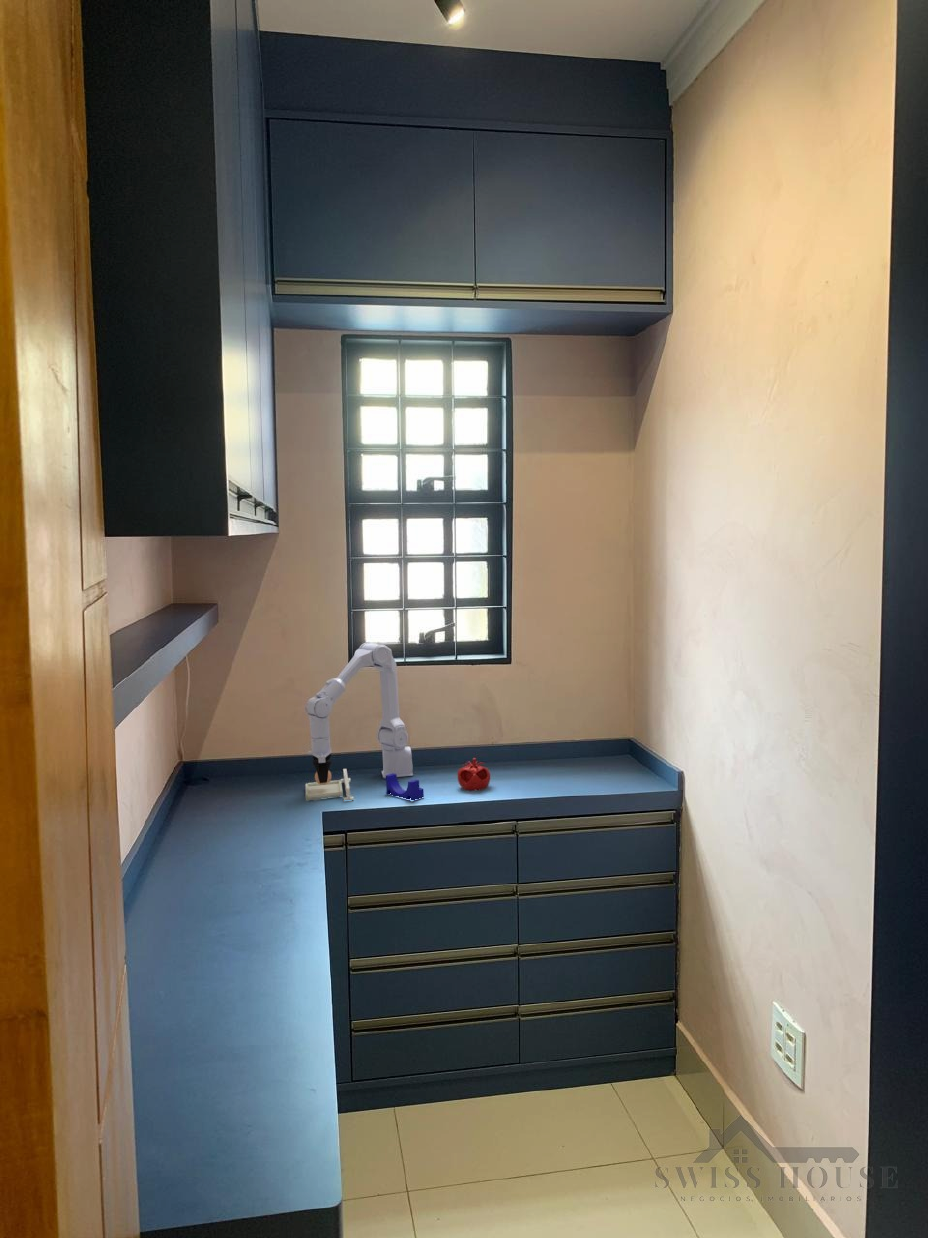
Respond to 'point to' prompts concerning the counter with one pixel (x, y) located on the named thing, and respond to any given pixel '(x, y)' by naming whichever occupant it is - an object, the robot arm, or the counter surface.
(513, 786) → the counter surface
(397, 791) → the cable clip
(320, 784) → the ball
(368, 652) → the robot arm
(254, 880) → the counter surface
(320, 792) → the resting dish
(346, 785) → the low wall
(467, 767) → the red carved pumpkin
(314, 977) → the counter surface
